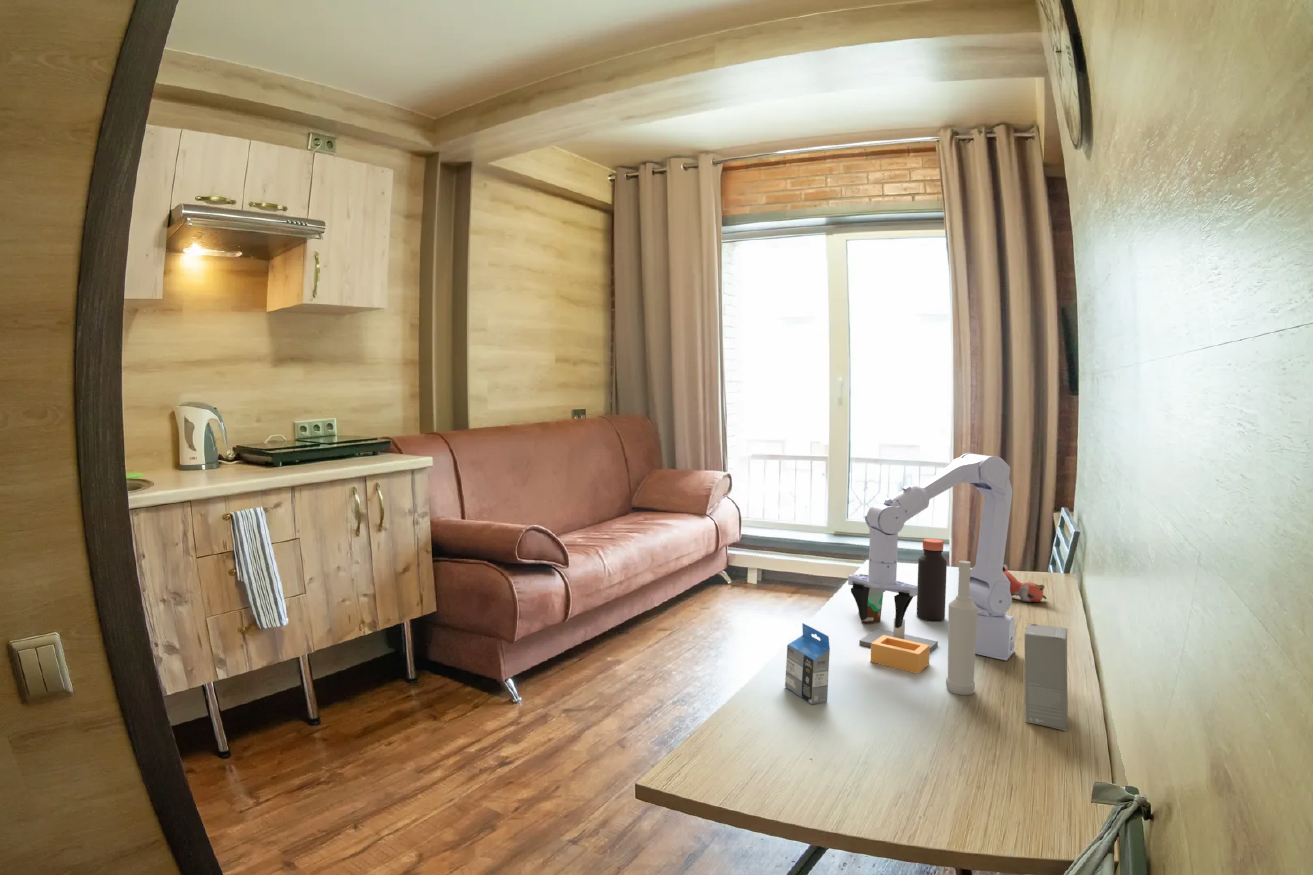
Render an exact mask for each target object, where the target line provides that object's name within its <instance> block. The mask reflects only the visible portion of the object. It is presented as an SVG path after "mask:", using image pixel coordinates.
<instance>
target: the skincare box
mask: <svg viewBox="0 0 1313 875" xmlns="http://www.w3.org/2000/svg"><path fill="white" fill-rule="evenodd" d="M1024 629H1025V632H1024V702H1025V703H1024V704H1025V705H1024V706H1025V709H1024V710H1025V713H1024V714H1025V722H1026V723H1030V724H1034V725H1040V726H1044V727H1048V728H1052V729H1057V730H1061V731H1064V732H1066V731H1067V729H1068V722H1069V709H1068V708H1069V707H1068V706H1069V704H1068V703H1069V702H1068V699H1069V697H1068V628H1067V627H1059V626H1052V625H1045V624H1035V623H1028V624H1027V627H1026V626H1025V628H1024Z"/></svg>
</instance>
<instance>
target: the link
mask: <svg viewBox="0 0 1313 875" xmlns="http://www.w3.org/2000/svg"><path fill="white" fill-rule="evenodd" d="M929 652H930V645H927V644H922V643H918V642H913V641H909V640H904V639H900V638H895V637H891V636H886V635H882V636H881V637H880V638H878V639H877V640H875V641H874V642H872V643H871V647H870V662H871V663H874V664H878V663H880V664H879V665H882V664H883V665H882V666H886V667H890V668H895V669H899V670H902V671H906V672H911V673H914V674H919V673H920V672H922V671H923V670H924V669H925V668H926V667H927V666H928V665H929V664H930V653H931V652H930V653H929Z"/></svg>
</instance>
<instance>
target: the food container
mask: <svg viewBox="0 0 1313 875" xmlns="http://www.w3.org/2000/svg"><path fill="white" fill-rule="evenodd" d="M858 575H860V576H869V574H861V573H860V574H858ZM885 592H886V591H885V590H880V589H874V588H870V590H869V595H868V614H867V619H865V620H860V623H861V625H873V624H878V623H880V622H881V617H882V611H883V610H882V608H883V601H884V600H883V599H884V598H883V597H884V593H885ZM858 615H859V617H860V614H859V613H858Z"/></svg>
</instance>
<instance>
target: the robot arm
mask: <svg viewBox="0 0 1313 875" xmlns="http://www.w3.org/2000/svg"><path fill="white" fill-rule="evenodd" d="M1010 475H1011V467H1010V465H1009V464H1008V463H1006V461H1005V460H1004V459H1003V458H1001V457H1000V456H996V455H984V454H977V453H973V452H966V453H964V454H961V455H960V456H959V457H957V458H954V459H953V460H952V461H951V463H950V464H949V465H948V466H946V467H945V468H944V469H942V470H941V471H939V472H938V473H936V474H935V475H934V476H932V477H931V478H929V479H928V480H927V481H926V482H924V483H923V484H921V485H920V486H918V485H914V484H912V485H905V486H903V487H902V488H901V489H902V491H900V492H898V493H897V494H895V495H893V496H891V497H890V498H889V497H888V498H885V499H884V502H883V504H882V503H876V504H873V505H872V506H871V507H869V509H868V511H867V514H866V515H864V521H865V524H866V525H867V527H868V528H869V530H868V532H869V550H868V551H869V553H868V554H869V555H868V575H869V576H860V575H859V574H850V575H848V576H847V578H848V579H847V583H848V585H849V586H852V587H851V588H850V593H851V594H852V596H853V599H854V601H855V604H856V606H857V609H858V615H859V614H860V616H859V618H860V619H859V620H860V621H861V620H865V619H867V614H868V595H869V590H870V588H874V589H880V590H885V592H886V591H887V592H891V593H897V594H896V595H894V596H893V598H894V600H893V601H894V605H895V606H894V608H895V616H894V618H895V628H899V627H901V626H902V622H903V619H905V615H906V612H907V610H908V607H909V606H910V604H911V602H912V600H913V598H914V597H917V592H918V585H914V584H912V583H911V584H910V583H906V582H904V581H900V580H897V570H898V569H897V568H898V567H897V566H898V537H899V532H901V531H902V530H903V528H904V526H905V523H906V522H908V521H909V520H910V519H912V518H913V517H916V516H917V515H918V514H919V513H921V512H922V511H923V512H924V510H926V509H927V508H929V505H930V500H931V499H933V498H935V497H937V496H939V495H940V494H942V493H944V492H946V491H948V490H949V489H951V488H953V487H955V486H956V485H958V484H961V483H963V484H964V483H965V484H966V483H968V484H970V485H971V486H973V487H975V488H976V490H978V492H979V493H980V494H981V495H982V496H983V506H982V512H981V519H980V527H979V536H978V543H977V551H976V558H975V565H974V566H973V567H971V568H970V586H969V597H971V601H972V602H973V603H974V604H975V605H976V606H977V607H978V615H977V631H976V648H975V655H978V656H984V657H987V658H988V657H989V658H993V659H997V660H1001V661H1008V660H1009V659H1010V658H1011V656H1012V655H1013V654H1014V652H1015V651H1016V650H1015V640H1016V638H1015V636H1016V619H1015V617H1014V616H1011V615H1008V614H1006V613H1007V612H1009V610H1010V608H1011V606H1012V602H1013V597H1012V596H1011V593H1010V581H1009V580H1008V578H1007V577H1006V575H1005V574H1004V572H1003V565H1004V563H1005V554H1006V546H1007V538H1008V531H1009V523H1010V514H1011V507H1012V500H1013V488H1012V484H1011V480H1010Z"/></svg>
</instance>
